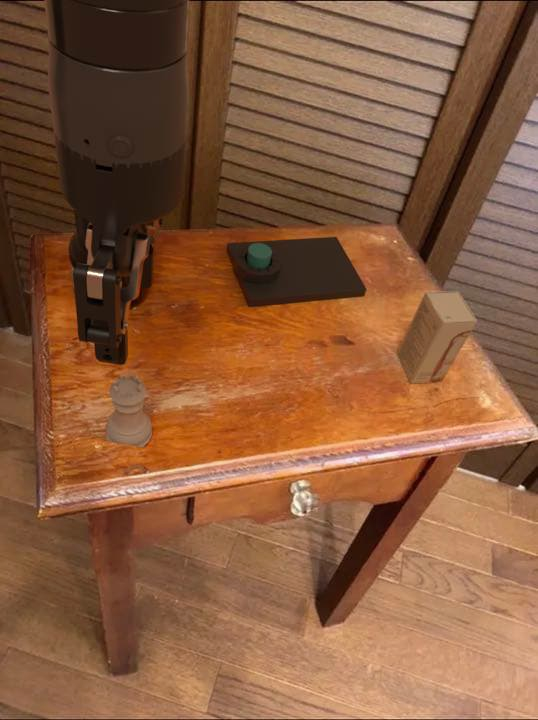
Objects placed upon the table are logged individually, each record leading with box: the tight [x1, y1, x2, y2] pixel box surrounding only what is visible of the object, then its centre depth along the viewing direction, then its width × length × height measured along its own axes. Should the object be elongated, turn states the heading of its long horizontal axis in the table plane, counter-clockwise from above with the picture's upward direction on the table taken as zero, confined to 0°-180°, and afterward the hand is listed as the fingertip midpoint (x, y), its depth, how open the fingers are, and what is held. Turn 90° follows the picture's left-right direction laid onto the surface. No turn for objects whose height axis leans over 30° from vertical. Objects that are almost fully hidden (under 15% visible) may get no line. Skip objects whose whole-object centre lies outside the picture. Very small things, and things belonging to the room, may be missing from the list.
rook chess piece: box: [105, 372, 153, 448], centre depth 55 cm, size 4×4×8 cm
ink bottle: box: [68, 209, 150, 309], centre depth 66 cm, size 10×9×12 cm
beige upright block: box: [396, 291, 478, 384], centre depth 67 cm, size 5×4×10 cm
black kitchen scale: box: [226, 236, 367, 308], centre depth 77 cm, size 16×11×3 cm, turn 107°
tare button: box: [247, 243, 272, 269], centre depth 74 cm, size 3×3×2 cm
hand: (126, 320), depth 46 cm, fingers open, 8 cm apart
